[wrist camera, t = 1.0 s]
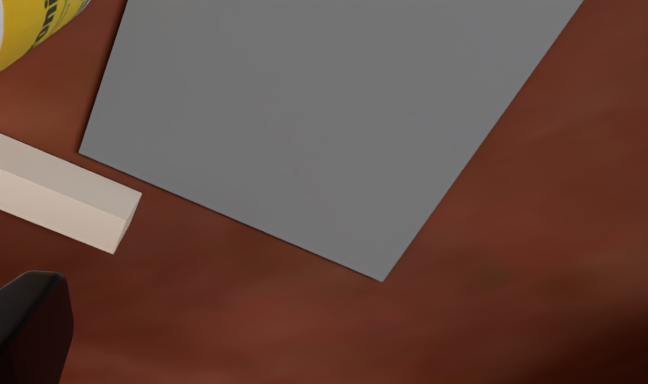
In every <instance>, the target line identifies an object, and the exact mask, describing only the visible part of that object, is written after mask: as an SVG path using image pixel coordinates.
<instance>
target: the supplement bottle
mask: <svg viewBox="0 0 648 384" xmlns="http://www.w3.org/2000/svg"><path fill="white" fill-rule="evenodd" d="M89 1H90V0H0V71H2V70H3V69H5V68H6V67H8V66H9V65H10V64H12V63H13V62H15V61H16V60H17V59H19V58H20V57H22V56H23V55H24V54H26V53H27V52H28V51H30V50H31V49H33V48H34V47H35V46H37V45H38V44H39V43H41V42H42V41H44V40H45V39H46V38H48V37H49V36H51V35H52V34H53V33H55V32H56V31H58V30H59V29H60V28H62V27H63V26H64V25H66V24H67V23H69V22H70V21H71V20H72V19H73V18H75V17H76V16H77V15H78V14H79V13H80V12H81V11H82V10H83V9H84V8H85V7H86V6H87V4H88V3H89Z"/></svg>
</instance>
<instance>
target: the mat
mask: <svg viewBox="0 0 648 384" xmlns="http://www.w3.org/2000/svg"><path fill="white" fill-rule="evenodd" d="M582 2H583V0H128V2H127V5H126V8H125V11H124V14H123V18H122V21H121V24H120V27H119V30H118V33H117V36H116V39H115V42H114V45H113V48H112V51H111V54H110V58H109V61H108V64H107V67H106V70H105V73H104V76H103V79H102V82H101V85H100V88H99V91H98V94H97V98H96V101H95V104H94V107H93V110H92V113H91V116H90V119H89V122H88V125H87V128H86V131H85V134H84V138H83V141H82V144H81V147H80V150H79V153H80V154H82V155H85V156H87V157H90V158H92V159H94V160H97V161H99V162H101V163H104V164H106V165H108V166H111V167H113V168H115V169H118V170H120V171H122V172H125V173H127V174H129V175H132V176H134V177H137V178H139V179H141V180H144V181H146V182H148V183H151V184H153V185H155V186H158V187H160V188H162V189H165V190H167V191H169V192H172V193H174V194H177V195H179V196H181V197H184V198H186V199H188V200H191V201H193V202H195V203H198V204H200V205H202V206H205V207H207V208H209V209H212V210H214V211H216V212H219V213H221V214H224V215H226V216H228V217H231V218H233V219H235V220H238V221H240V222H242V223H245V224H247V225H249V226H252V227H254V228H256V229H259V230H261V231H264V232H266V233H268V234H271V235H273V236H275V237H278V238H280V239H282V240H285V241H287V242H289V243H292V244H294V245H296V246H299V247H301V248H303V249H306V250H308V251H311V252H313V253H315V254H318V255H320V256H322V257H325V258H327V259H329V260H332V261H334V262H336V263H339V264H341V265H343V266H346V267H348V268H350V269H353V270H355V271H358V272H360V273H362V274H365V275H367V276H369V277H372V278H374V279H376V280H379V281H381V282H383V280H384V279H385V278H386V276H387V275H388V273H389V272H390V271H391V269H392V268H393V266H394V265H395V264H396V262H397V261H398V259H399V258H400V257H401V255H402V254H403V252H404V251H405V250H406V248H407V247H408V245H409V244H410V243H411V241H412V240H413V238H414V237H415V236H416V234H417V233H418V231H419V230H420V229H421V227H422V226H423V224H424V223H425V222H426V220H427V219H428V217H429V216H430V215H431V213H432V212H433V210H434V209H435V208H436V206H437V205H438V203H439V202H440V201H441V199H442V198H443V196H444V195H445V194H446V192H447V191H448V189H449V188H450V187H451V185H452V184H453V182H454V181H455V180H456V178H457V177H458V175H459V174H460V173H461V171H462V170H463V168H464V167H465V166H466V164H467V163H468V161H469V160H470V159H471V157H472V156H473V154H474V153H475V152H476V150H477V149H478V147H479V146H480V145H481V143H482V142H483V140H484V139H485V138H486V136H487V135H488V133H489V132H490V131H491V129H492V128H493V126H494V125H495V124H496V122H497V121H498V119H499V118H500V117H501V115H502V114H503V112H504V111H505V110H506V108H507V107H508V105H509V104H510V102H511V101H512V100H513V98H514V97H515V95H516V94H517V93H518V91H519V90H520V88H521V87H522V86H523V84H524V83H525V81H526V80H527V79H528V77H529V76H530V74H531V73H532V72H533V70H534V69H535V67H536V66H537V65H538V63H539V62H540V60H541V59H542V58H543V56H544V55H545V53H546V52H547V51H548V49H549V48H550V46H551V45H552V44H553V42H554V41H555V39H556V38H557V37H558V35H559V34H560V32H561V31H562V30H563V28H564V27H565V25H566V24H567V23H568V21H569V20H570V18H571V17H572V16H573V14H574V13H575V11H576V10H577V9H578V7H579V6H580V4H581V3H582Z"/></svg>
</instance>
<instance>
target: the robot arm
mask: <svg viewBox="0 0 648 384" xmlns="http://www.w3.org/2000/svg"><path fill="white" fill-rule="evenodd" d="M73 330H74V321H73V314H72V308H71V302H70V296H69V290H68V284H67V280H66V278H65V276H64V275H63V274H62V273H60V272H52V271H37V270H32V271H27V272H25V273H23V274H21V275H20V276H18V277H17V278H15V279H14V280H12V281H11V282H9V283H8V284H6V285H5V286H3V287H1V288H0V384H59V381H60V378H61V374H62V371H63V368H64V364H65V361H66V358H67V354H68V351H69V348H70V344H71V341H72V337H73Z"/></svg>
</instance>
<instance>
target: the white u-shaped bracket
mask: <svg viewBox="0 0 648 384" xmlns="http://www.w3.org/2000/svg"><path fill="white" fill-rule="evenodd" d="M141 195H142V193H140V192H138V191H136V190H133V189H131V188H129V187H126V186H124V185H121V184H119V183H117V182H114V181H112V180H110V179H107V178H105V177H102V176H100V175H98V174H95V173H93V172H91V171H88V170H86V169H83V168H81V167H79V166H76V165H74V164H72V163H69V162H67V161H64V160H62V159H60V158H57V157H55V156H52V155H50V154H48V153H45V152H43V151H41V150H38V149H36V148H33V147H31V146H29V145H26V144H24V143H22V142H19V141H17V140H14V139H12V138H10V137H7V136H5V135H3V134H0V210H3V211H5V212H8V213H10V214H13V215H15V216H18V217H20V218H23V219H25V220H28V221H30V222H33V223H35V224H38V225H41V226H43V227H46V228H48V229H51V230H53V231H56V232H58V233H61V234H63V235H66V236H68V237H71V238H73V239H76V240H78V241H81V242H83V243H86V244H89V245H91V246H94V247H96V248H99V249H101V250H104V251H106V252H109V253H111V254H114V252H115V250H116V248H117V246H118V245H119V243H120V241H121V239H122V237H123V236H124V234H125V232H126V230H127V228H128V227H129V225H130V222H131V220H132V217H133V215H134V212H135V210H136V207H137V205H138V202H139V200H140V197H141Z"/></svg>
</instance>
